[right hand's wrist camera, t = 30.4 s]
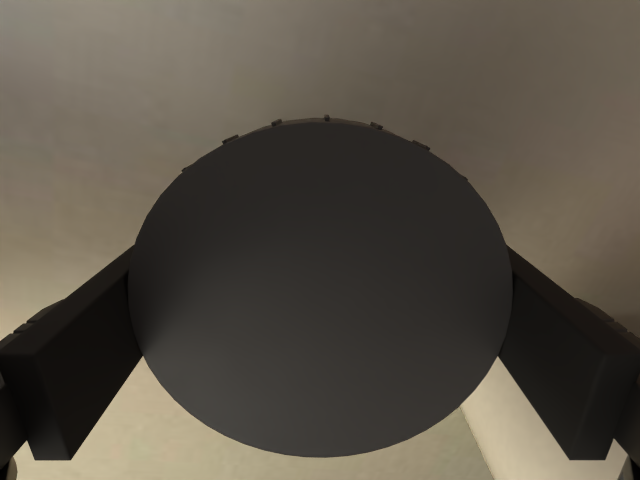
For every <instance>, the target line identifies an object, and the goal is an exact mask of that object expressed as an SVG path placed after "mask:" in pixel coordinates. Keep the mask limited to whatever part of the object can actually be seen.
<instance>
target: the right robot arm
mask: <svg viewBox="0 0 640 480" xmlns="http://www.w3.org/2000/svg"><path fill="white" fill-rule="evenodd" d="M134 245H135V244H134ZM134 245H133V246H132V247H130V248H129V249H128V250H127V251H125V252H124V253H123V254H122V255H120V256H119V257H118V258H116V259H115V260H114V261H113V262H111V263H110V264H109V265H107V266H106V267H105V268H104V269H102V270H101V271H100V272H99V273H97V274H96V275H95V276H93V277H92V278H91V279H90V280H88V281H87V282H86V283H85V284H83V285H82V286H81V287H79V288H78V289H77V290H76V291H74V292H73V293H72V294H70V295H69V296H68V297H67V298H65V299H63V300H61V301H58V302H56V303H54V304H52V305H50V306H48V307H46V308H44V309H42V310H41V311H39V312H38V313H37V314H35V315H34V316H33V317H31V318H30V319H29V320H27V323H26V324H22V325H21V326H20V327H18V328H17V329H16V330H14V332H13V334H9V335H8V336H6V337H5V338H4V339H2V340H1V341H0V480H16V478H17V466H16V462H15V460H14V457H13V455H14V454H15V453H16V452H17V451H18V450H19V448H20V447H21V446H22V445H23V444H24V443H25V442H26V440H27V441H28V444H29V446H30V449H31V452H32V454H33V457H34V459H35V460H71V459H72V458H73V456H74V455H75V453H76V452H77V450H78V449H79V448H80V446H81V445H82V443H83V442H84V440H85V439H86V437H87V436H88V435H89V433H90V432H91V430H92V429H93V427H94V426H95V424H96V423H97V421H98V420H99V419H100V417H101V416H102V414H103V413H104V411H105V410H106V408H107V407H108V406H109V404H110V403H111V401H112V400H113V398H114V397H115V395H116V394H117V392H118V391H119V390H120V388H121V387H122V385H123V384H124V382H125V381H126V379H127V378H128V377H129V375H130V374H131V372H132V371H133V369H134V368H135V366H136V365H137V363H138V362H139V361H140V359H141V358H142V356H143V354H142V352H141V350H140V349H139V346H138V343H137V340H136V337H135V334H134V331H133V327H132V322H131V317H130V312H129V308H128V287H127V283H128V275H129V266H130V259H131V256H132V252H133V249H134ZM506 246H507V245H506ZM507 249H508V254H509V259H510V263H511V268H512V279H513V301H512V310H511V315H510V320H509V324H508V329H507V333H506V337H505V340H504V342H503V344H502V347H501V349H500V352H499V354H498V357H499V359H500V360H501V362H502V363H503V365H504V366H505V367H506V369H507V370H508V372H509V373H510V375H511V376H512V378H513V379H514V381H515V382H516V383H517V385H518V386H519V388H520V389H521V391H522V392H523V394H524V395H525V396H526V398H527V399H528V401H529V402H530V404H531V405H532V407H533V408H534V410H535V411H536V412H537V414H538V415H539V417H540V418H541V420H542V421H543V423H544V424H545V425H546V427H547V428H548V430H549V431H550V433H551V434H552V436H553V437H554V439H555V440H556V441H557V443H558V444H559V446H560V447H561V449H562V450H563V452H564V453H565V454H566V456H567V457H568V459H569V460H606V457H607V455H608V452H609V450H610V447H611V445H612V442H613V440H614V439H615V440H616V441H617V443H618V444H619V445H620V446H621V447H622V448H623V449H624V451H625V452H626V453H627V454H628V455H627V457H626V460H625V462H624V465H623V467H622V469H621V472H620V474H619V477H618V479H617V480H640V339H639V338H638V337H636V336H635V335H634V334H632V333H631V332H628V331H627V329H626V328H624V327H623V326H622V325H620V324H619V323H618V322H614V319H612V318H611V317H610V316H608V315H607V314H606V313H604V312H603V311H602V310H601V309H599V308H597V307H595V306H593V305H591V304H589V303H587V302H585V301H583V300H581V299H579V298H574V297H572V296H571V295H570V294H569V293H567V292H566V291H565V290H563V289H562V288H561V287H560V286H558V285H557V284H556V283H554V282H553V281H552V280H551V279H549V278H548V277H547V276H546V275H544V274H543V273H542V272H540V271H539V270H538V269H537V268H535V267H534V266H533V265H531V264H530V263H529V262H528V261H526V260H525V259H524V258H523V257H521V256H520V255H519V254H517V253H516V252H515V251H514V250H512V249H511V248H510V247H509V246H507Z"/></svg>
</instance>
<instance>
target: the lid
mask: <svg viewBox="0 0 640 480" xmlns="http://www.w3.org/2000/svg"><path fill="white" fill-rule="evenodd" d="M271 124H272V125H269V126H265V127H262V128H260V129H257V130H255V131H252V132H250V133H247V134H245V135H242V136H240V137H239V136H238V135H235V136H233V137H230V138H228V139H226V140H224V141H222V143H223V145H222V146H220V147H218V148H217V149H215V150H213V151H211V152H210V153H208V154H206V155H205V156H203V157H201V158H200V159H198V160H197V161H196V162H195V163H193V164H191V165H189V166H188V167H186V168H184V169H183V170H182V173H181V174H180V175H179V176H178V177H177V178H176V179H175V180H174V181H173V182H172V183H171V184H170V185H169V187H168V188H167V189H166V190H165V191H164V192H163V193H162V194H161V195H160V197H159V198H158V200H157V201H156V203H155V204H154V206H153V207H152V209H151V210H150V212H149V213H148V215H147V217H146V219H145V221H144V223H143V225H142V227H141V230H140V232H139V234H138V236H137V238H136V242H135V245H134V249H133V252H132V256H131V259H130V266H129V275H128V283H127V287H128V308H129V312H130V317H131V322H132V327H133V331H134V334H135V337H136V340H137V343H138V346H139V349H140V350H141V352H142V354H143V356H144V358H145V360H146V362H147V364H148V366H149V368H150V369H151V371H152V372H153V374H154V375H155V377H156V378H157V380H158V381H159V383H160V384H161V385H162V386H163V387H164V389H165V390H166V391H167V392H168V393H169V394H170V395H171V396H172V398H173V399H174V400H175V401H176V402H178V403H179V404H180V405H181V406H182V407H183V408H184V409H185V410H186V411H188V412H189V413H190V414H191V415H193V416H194V417H195V418H197V419H198V420H200V421H201V422H203V423H204V424H205V425H207V426H208V427H210V428H212V429H214V430H216V431H217V432H219V433H221V434H223V435H225V436H227V437H229V438H231V439H234V440H236V441H238V442H241V443H243V444H246V445H249V446H252V447H255V448H258V449H261V450H265V451H270V452H274V453H279V454H284V455H291V456H300V457H325V458H327V457H340V456H350V455H356V454H362V453H368V452H371V451H375V450H379V449H382V448H386V447H389V446H392V445H395V444H397V443H400V442H402V441H405V440H408V439H410V438H412V437H414V436H416V435H418V434H420V433H422V432H424V431H426V430H427V429H429V428H430V427H432V426H433V425H435V424H437V423H438V422H440V421H441V420H443V419H444V418H445V417H447V416H448V415H449V414H450V413H452V412H453V411H454V410H455V409H457V408H458V407H459V406H460V405H461V404H462V403H463V402H464V401H465V400H466V399H467V398H468V397H469V396H470V395H471V394H472V393H473V392H474V391H475V390H476V388H477V387H478V386H479V384H480V383H481V382H482V380H483V379H484V378H485V376H486V375H487V374H488V372H489V370H490V369H491V367H492V365H493V363H494V362H495V360H496V358H497V356H498V354H499V352H500V349H501V347H502V344H503V342H504V340H505V337H506V333H507V329H508V324H509V320H510V315H511V310H512V301H513V279H512V268H511V263H510V259H509V254H508V249H507V246H506V243H505V241H504V238H503V236H502V233H501V230H500V228H499V225H498V223H497V222H496V220H495V218H494V217H493V215H492V213H491V211H490V210H489V208H488V206H487V204H486V203H485V202H484V200H483V199H482V198H481V197H480V195H479V194H478V193H477V192H476V191H475V189H474V188H473V187H472V186H471V184H470V183H469V182H468V181H467V180H468V179H467V178H466V177H464V176H462V175H460V174H459V173H458V172H457V171H456V170H455V169H453V168H452V167H451V166H450V165H449V164H447V163H446V162H444V161H443V160H441V159H440V158H438V157H437V156H435V155H434V154H433V153H431V152H430V151H429V150H430V148H429V147H428V146H425V145H423V144H421V143H419V142H416V141H414V140H413V142H410V141H408V140H406V139H404V138H402V137H400V136H397V135H395V134H393V133H391V132H389V131H387V130H384V129H382V128H383V126H381V125H378V124H376V123H373V122H371V124H370V125H368V124H365V123H361V122H355V121H349V120H343V119H332V118H330V117H329V115H325V117H324V118H308V119H299V120H290V121H285V122H282V120H281V119H278V120H276V121H274V122H272V123H271Z"/></svg>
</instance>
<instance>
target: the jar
mask: <svg viewBox="0 0 640 480" xmlns="http://www.w3.org/2000/svg"><path fill="white" fill-rule="evenodd" d="M459 407H460V409H461V411H462V413H463V415H464V417H465V419H466V422H467V424H468V426H469V428H470V430H471V432H472V434H473V437H474V439H475V441H476V443H477V445H478V447H479V449H480V452H481V454H482V456H483V458H484V460H485V462H486V464H487V467H488V469H489V471H490V473H491V475H492V477H493V479H494V480H617V479H618V477H619V474H620V472H621V469H622V467H623V465H624V462H625V460H626V457H627V455H628V454H627V453H626V452H625V451H624V449H623V448H622V447H621V446H620V445H619V444H618V443H617V441H616V440H615V439H614V440H613V442H612V445H611V447H610V450H609V452H608V455H607V457H606V460H569V459H568V457H567V456H566V454H565V453H564V452H563V450H562V449H561V447H560V446H559V444H558V443H557V441H556V440H555V439H554V437H553V436H552V434H551V433H550V431H549V430H548V428H547V427H546V425H545V424H544V423H543V421H542V420H541V418H540V417H539V415H538V414H537V412H536V411H535V410H534V408H533V407H532V405H531V404H530V402H529V401H528V399H527V398H526V396H525V395H524V394H523V392H522V391H521V389H520V388H519V386H518V385H517V383H516V382H515V381H514V379H513V378H512V376H511V375H510V373H509V372H508V370H507V369H506V367H505V366H504V365H503V363H502V362H501V360H500V359H499V357H498V356H497V358H496V360H495V362H494V363H493V365H492V367H491V369H490V370H489V372H488V374H487V375H486V376H485V378H484V379H483V380H482V382H481V383H480V384H479V386H478V387H477V388H476V390H475V391H474V392H473V393H472V394H471V395H470V396H469V397H468V398H467V399H466V400H465V401H464V402H463V403H462V404H461V405H460V406H459Z"/></svg>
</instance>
